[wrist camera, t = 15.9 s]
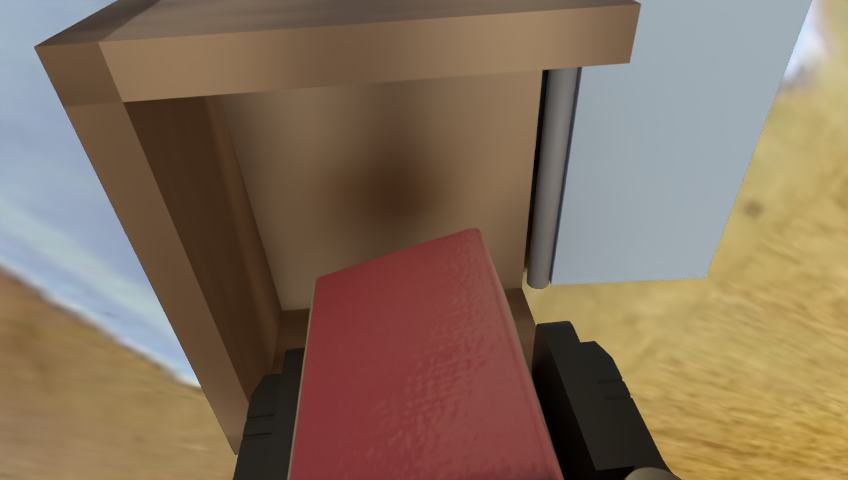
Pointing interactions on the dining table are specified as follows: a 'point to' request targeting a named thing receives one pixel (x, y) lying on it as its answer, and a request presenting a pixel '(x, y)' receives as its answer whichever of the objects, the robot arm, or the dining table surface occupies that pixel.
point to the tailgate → (657, 142)
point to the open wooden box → (312, 148)
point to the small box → (418, 373)
